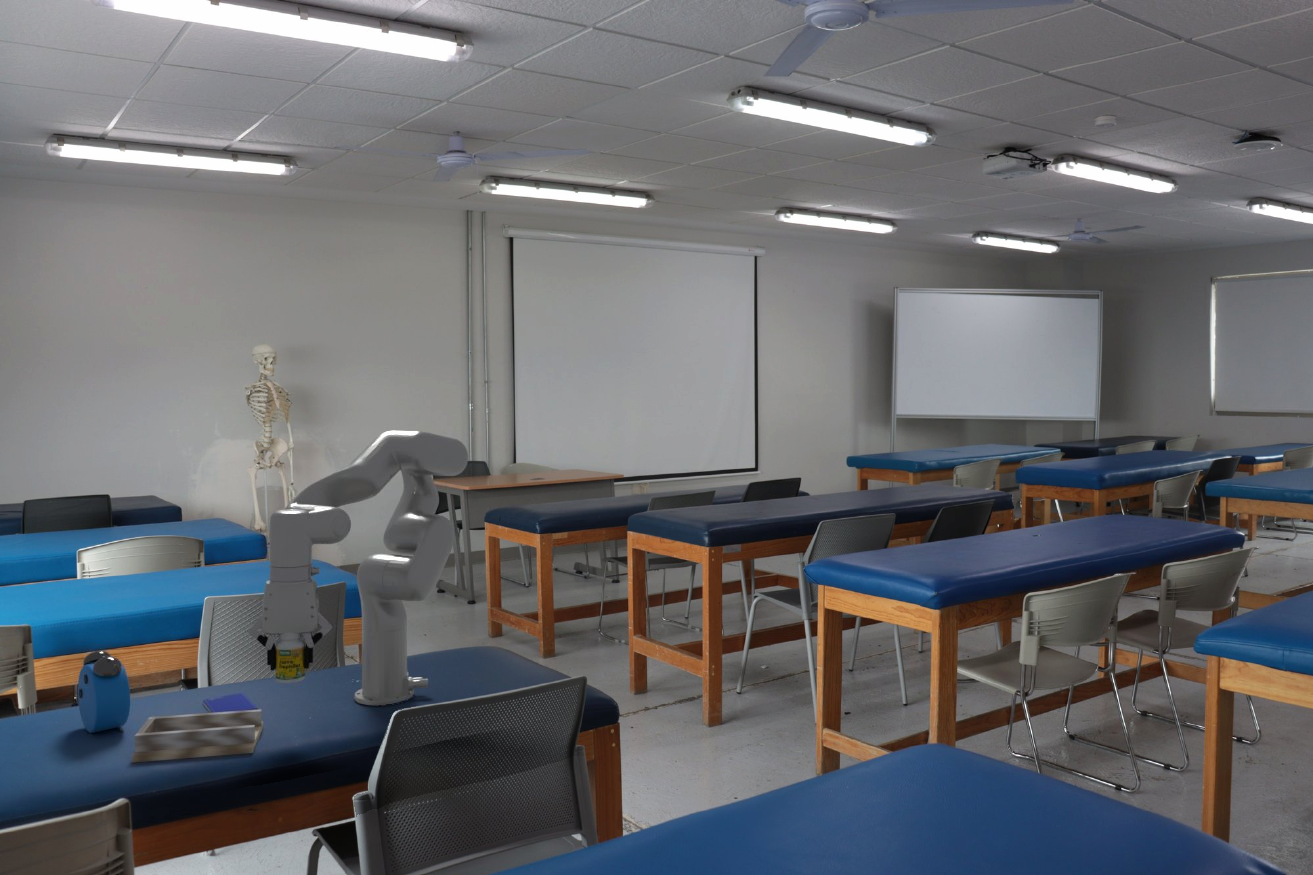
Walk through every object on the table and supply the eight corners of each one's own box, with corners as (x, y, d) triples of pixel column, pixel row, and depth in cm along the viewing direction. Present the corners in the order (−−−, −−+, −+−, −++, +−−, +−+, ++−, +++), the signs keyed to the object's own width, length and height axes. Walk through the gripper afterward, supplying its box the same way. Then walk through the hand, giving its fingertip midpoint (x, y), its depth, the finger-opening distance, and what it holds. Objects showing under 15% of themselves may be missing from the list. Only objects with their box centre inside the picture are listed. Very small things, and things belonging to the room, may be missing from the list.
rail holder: (263, 727, 186) (263, 706, 186) (252, 752, 173) (252, 730, 173) (151, 735, 181) (151, 714, 181) (132, 762, 168) (131, 739, 167)
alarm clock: (131, 734, 182) (130, 657, 181) (95, 741, 177) (94, 663, 177) (110, 717, 191) (110, 644, 190) (76, 724, 187) (75, 650, 186)
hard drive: (202, 699, 200) (216, 715, 190) (243, 692, 205) (258, 707, 195) (202, 706, 200) (216, 722, 190) (243, 699, 205) (258, 714, 195)
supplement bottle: (305, 674, 184) (305, 626, 184) (305, 682, 179) (305, 632, 179) (275, 677, 182) (276, 628, 182) (274, 684, 177) (275, 634, 177)
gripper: (339, 569, 186) (338, 660, 186) (245, 572, 181) (245, 665, 182) (336, 576, 179) (335, 670, 179) (239, 579, 174) (239, 675, 175)
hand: (290, 666), depth 180 cm, fingers closed on supplement bottle, 5 cm apart
